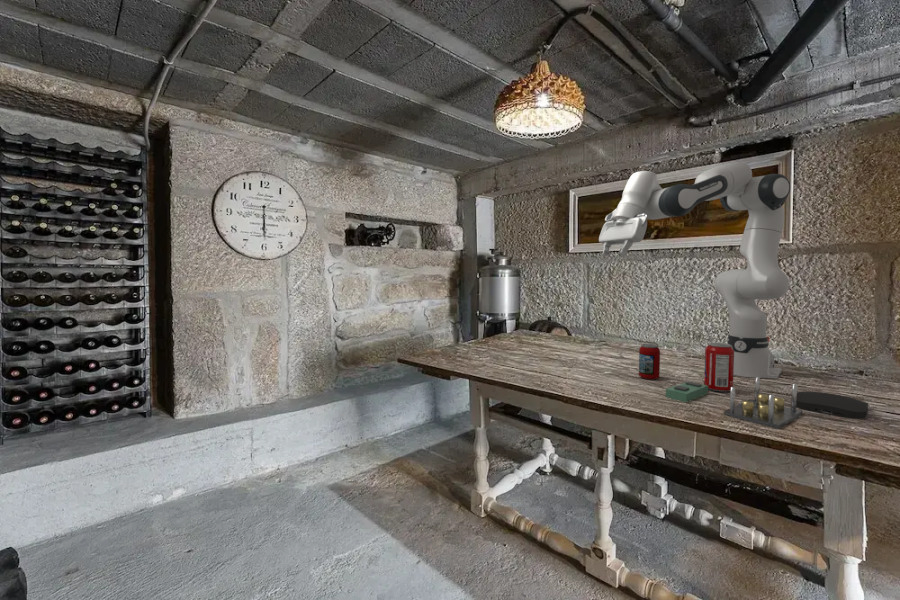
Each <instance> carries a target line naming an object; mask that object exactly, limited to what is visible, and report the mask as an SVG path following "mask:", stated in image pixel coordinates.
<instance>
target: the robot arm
mask: <svg viewBox="0 0 900 600" xmlns="http://www.w3.org/2000/svg"><path fill="white" fill-rule="evenodd" d="M694 180H695V181H694V183H693V184H686V183H677V184H675V185H671V186H669V187H665V188H663V187H661V185H660V184H659V182H658V180H657V174H656V173H655V172H653V171H650V170H639V171H636V172H634V173H631V175H630V177H629V178H628V180H627V182H626V184H625V186H624V189H623V192H622V193H621V194H622V195H621V196H622V197H621V199H620V201H619V203H618V204H617V207H616V208H615V209H614V210H613V211H612V212H610V213H608V214H607V215H606V216H605V218H604V221H605V223H604V224H603V225H602V228H601V231H600V234H599V237H598V242H599V243H601V244H602V245H603V251H602V252H601V253H602V255H603V256H605V257H607V256H610V253H611V251H610V248H611V247H612V245H620V244H621V245H622V244H623V246H622V247H621V248H620V249H619V251H618V254H619V255H621V256H626V255H627V253H628V250H630V249H631V247H632V246H633V243H641V242H642V241H643V239H644V237H645V235H646V231H647V227H648V220H652V221H653V220H654V221H655V220H660V219H666V218H674V217H676V218H677V217H684V216H686V215H687V214H689V213H690V212H691V211H692V210H693V209H694V208H695V207H696V206H697V205H699V204H700V203H703V202H705V201H706V202H707V201H715V200H718V199H719V202H720V204H721V206H722V208H723V209H725V210H726V211H730V212H740V211H748V212H747V213H748V217H747V218H748V219H747V221H746V225H745V227H744V230H743V235H742V239H741V242H740V246H739V253H740V254H741V255H742V256H743V257H744V258H745V260H746V265H747V266H746V268H735V269H729V270H725V271H722V272H720V273H719V274H717V276H716V277H715V280H714V288H715V290H716V292H717V293H718V294H719V295H720V296H722V298H723V300H724V302H725V304H726V306H727V312H728V316H729V330H728V331H729V334H727V344H730V345H732V348H733V350H734V376H738V377H745V378H752V379H753V378H755V379H756V377H760V379H778V378H779V377H780V375H781V373H782V371H783V369H782V368H780V367H776V366H775V355H774V354H773V353H772V352H771V350H770V349H769V342H770V339H771V338H770V336H767V331H768V329H767V326H768V316H767V314H766V313H765V312H764V311H762V309H760V308H759V306H758V303H757V302H756V300H758V301H759V300H760V301H767V300H774V299H780V298H782V297H783V296H785V295H786V294H787V293H788V291H789V289H790V280H789V277H788V275H787V274H786V273H785V272H784V271H782V269H781V268H780V265H779V260H778V251H779V246H780V243H781V242H780V241H781V237H782V234H783V229H784V225H785V224H784V223H785V209H784V207H783V205H784V204H785V202H786V200H787V199H788V197H789V195H790V191H791V184H790V181H789V179H788V178H787V177H786V176H785V175H784V174H781V173H769V174H767V175H766V174H765V175H760V176H753V172H752V168H751V166H750V165H749V164H747V163H746V162H743V161H733V162H728V163H723V164H719V165H717V166H714V167H712V168H709V169H707V170H705V171H703V172H702V173H700V174H698V175H697V176H696V178H695V179H694Z"/></svg>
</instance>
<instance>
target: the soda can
mask: <svg viewBox="0 0 900 600" xmlns="http://www.w3.org/2000/svg"><path fill="white" fill-rule="evenodd" d="M703 372H704V374H703V376H704V377H703V379H704V380H703V385H707V386H708V391H712V390H713V391H712V392H716V391H719V392H718V393H728V392H731V387H734V376H735V375H734V350H733V348H732V345H730V344H728V343H722V342H709V343H707V346H706V347H705V349H704V371H703Z"/></svg>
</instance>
